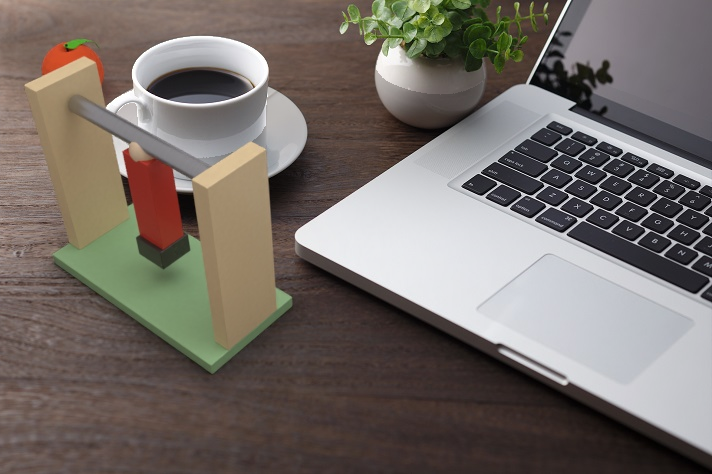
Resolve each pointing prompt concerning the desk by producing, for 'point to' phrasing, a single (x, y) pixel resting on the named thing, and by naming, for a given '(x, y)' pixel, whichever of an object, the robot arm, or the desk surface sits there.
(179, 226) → the pendulum
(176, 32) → the desk surface
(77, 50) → the clementine
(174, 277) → the frame
